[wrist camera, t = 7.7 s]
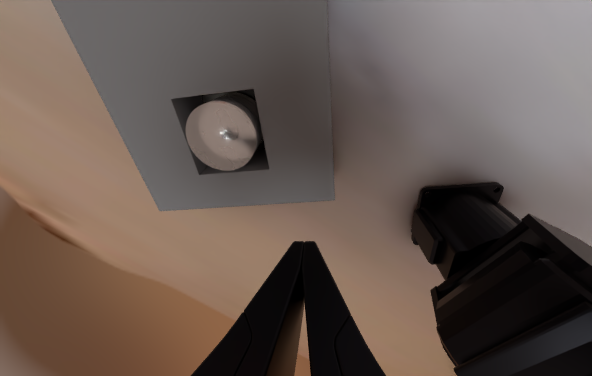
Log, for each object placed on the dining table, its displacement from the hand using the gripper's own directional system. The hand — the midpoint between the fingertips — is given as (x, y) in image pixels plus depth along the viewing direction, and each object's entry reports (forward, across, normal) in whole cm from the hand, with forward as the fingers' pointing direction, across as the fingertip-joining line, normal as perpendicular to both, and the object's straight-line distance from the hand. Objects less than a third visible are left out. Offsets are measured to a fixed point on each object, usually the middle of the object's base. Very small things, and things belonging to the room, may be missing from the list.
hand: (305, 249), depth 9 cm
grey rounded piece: (+11, +6, -3) cm, 13 cm away
